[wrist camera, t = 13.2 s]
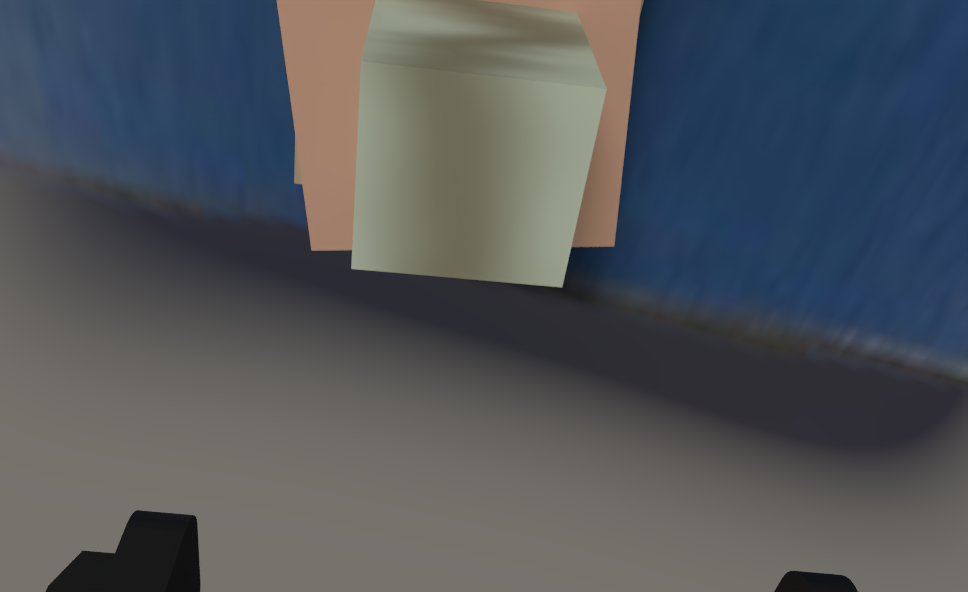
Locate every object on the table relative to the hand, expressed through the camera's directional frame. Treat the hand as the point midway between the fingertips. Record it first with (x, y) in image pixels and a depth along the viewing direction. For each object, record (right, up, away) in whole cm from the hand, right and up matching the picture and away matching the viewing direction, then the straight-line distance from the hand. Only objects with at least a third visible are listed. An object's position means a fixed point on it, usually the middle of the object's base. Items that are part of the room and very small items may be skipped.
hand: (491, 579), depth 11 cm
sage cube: (-1, +10, +13) cm, 16 cm away
